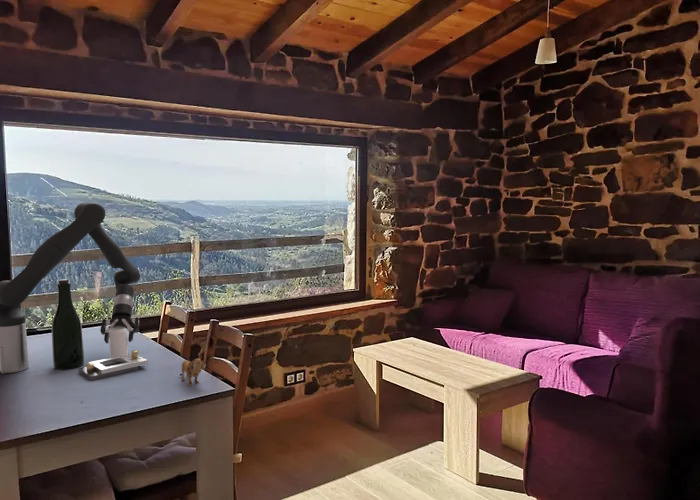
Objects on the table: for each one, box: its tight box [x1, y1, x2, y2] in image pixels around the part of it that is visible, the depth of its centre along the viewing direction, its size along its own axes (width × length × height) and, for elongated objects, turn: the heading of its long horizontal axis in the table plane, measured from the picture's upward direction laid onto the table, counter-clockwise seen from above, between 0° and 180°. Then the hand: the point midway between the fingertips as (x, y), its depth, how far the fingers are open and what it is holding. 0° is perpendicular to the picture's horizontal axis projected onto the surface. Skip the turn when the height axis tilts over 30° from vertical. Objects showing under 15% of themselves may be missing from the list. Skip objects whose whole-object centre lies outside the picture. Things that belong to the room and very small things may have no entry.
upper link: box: [88, 349, 148, 374], centre depth 201 cm, size 16×13×4 cm
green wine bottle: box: [51, 278, 85, 370], centre depth 205 cm, size 10×10×33 cm
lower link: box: [78, 362, 139, 381], centre depth 199 cm, size 16×13×4 cm
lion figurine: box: [179, 358, 207, 387], centre depth 186 cm, size 15×5×9 cm, turn 46°
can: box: [109, 326, 129, 358], centre depth 217 cm, size 6×6×12 cm
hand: (118, 341), depth 216 cm, fingers open, 8 cm apart
